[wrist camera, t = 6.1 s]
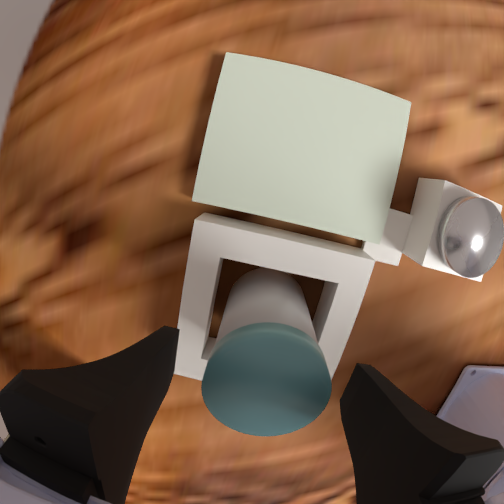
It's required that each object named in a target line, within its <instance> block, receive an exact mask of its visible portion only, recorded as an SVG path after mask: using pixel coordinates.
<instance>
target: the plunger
mask: <svg viewBox="0 0 504 504" xmlns="http://www.w3.org/2000/svg"><path fill="white" fill-rule="evenodd" d="M503 241H504V225H503V220H502V217H501V214H500V212H499V210H498V209H497V207H496V206H495V205H494V204H493V203H492V202H491V201H489V200H487V199H484V198H479V197H474V196H462V197H460V198H457V199H456V200H454V201H453V202H452V203H451V204H450V205H449V206H448V207H447V208H446V210H445V211H444V213H443V215H442V217H441V219H440V222H439V225H438V230H437V247H438V252H439V255H440V257H441V259H442V261H443V262H444V264H445V265H446V266H447V267H448V268H450V269H451V270H453V271H455V272H456V273H458V274H460V275H461V276H463V277H467V278H475V277H479V276H481V275H483V274H484V273H486V272H487V271H488V270H489V269H490V268H491V267H492V266H493V265H494V264H495V262H496V260H497V259H498V257H499V255H500V252H501V249H502V246H503Z"/></svg>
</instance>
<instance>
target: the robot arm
mask: <svg viewBox="0 0 504 504" xmlns="http://www.w3.org/2000/svg"><path fill="white" fill-rule="evenodd" d="M179 332H180V329H176V328H172V327H168V326H163V327H162V328H160V329H158V330H157V331H155V332H154V333H152V334H151V335H149V336H147V337H146V338H144V339H142V340H141V341H139V342H137V343H136V344H134V345H132V346H130V347H128V348H126V349H124V350H122V351H120V352H118V353H116V354H113V355H111V356H108V357H106V358H103V359H100V360H97V361H93V362H89V363H85V364H81V365H77V366H72V367H66V368H58V369H45V370H22V371H21V372H20V373H18V374H17V375H16V376H15V377H14V378H13V379H12V380H11V381H10V382H9V383H8V384H7V385H6V386H5V387H4V388H3V389H2V390H1V391H0V412H1V415H2V418H3V420H4V423H5V425H6V428H7V430H8V433H9V435H10V436H9V438H8V439H7V440H6V441H5V442H4V441H3V440H2V439H1V437H0V504H125V500H126V496H127V493H128V489H129V486H130V482H131V479H132V475H133V472H134V469H135V466H136V463H137V460H138V456H139V453H140V451H141V448H142V445H143V442H144V439H145V436H146V434H147V432H148V429H149V427H150V425H151V423H152V421H153V419H154V417H155V415H156V413H157V411H158V409H159V407H160V405H161V403H162V401H163V399H164V397H165V395H166V393H167V391H168V389H169V386H170V383H171V380H172V377H173V374H174V371H175V362H176V354H177V347H178V339H179ZM340 409H341V418H342V423H343V427H344V431H345V435H346V439H347V443H348V446H349V450H350V454H351V458H352V462H353V467H354V474H355V484H356V498H357V504H504V367H499V366H477V365H468V366H466V367H465V368H464V370H463V371H462V373H461V375H460V377H459V379H458V381H457V382H456V384H455V386H454V388H453V389H452V391H451V393H450V395H449V396H448V398H447V400H446V401H445V403H444V405H443V406H442V408H441V409H440V411H439V413H438V414H437V416H435V415H433V414H432V413H430V412H429V411H427V410H425V409H424V408H423V407H421V406H420V405H418V404H417V403H416V402H414V401H413V400H412V399H411V398H409V397H408V396H407V395H406V394H404V393H403V392H402V391H401V390H400V389H398V388H397V387H396V386H395V385H394V384H393V383H391V382H390V381H389V380H388V379H387V378H386V377H385V376H383V375H382V374H381V373H380V372H379V371H378V370H376V369H375V368H374V367H372V366H371V365H367V364H359V363H357V364H356V366H355V369H354V371H353V373H352V375H351V378H350V380H349V382H348V384H347V386H346V388H345V390H344V393H343V395H342V397H341V399H340Z"/></svg>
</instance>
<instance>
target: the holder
mask: <svg viewBox="0 0 504 504" xmlns="http://www.w3.org/2000/svg"><path fill="white" fill-rule="evenodd" d="M462 196H474V197H479V198H484V199H487V198H485V197H483V196H481V195H478V194H476V193H474V192H472V191H469V190H467V189H465V188H463V187H460V186H458V185H456V184H453V183H451V182H448V181H446V180H439V179H429V178H419V179H418V183H417V188H416V192H415V196H414V200H413V204H412V208H411V212H410V214H407V213H404V212H401V211H397V210H394V209H391V208H389V212H388V216H387V220H386V223H385V227H384V231H383V234H382V238H381V241H380V245H379V244H375V243H371V242H367V241H363V244H362V247H361V248H357V247H353V246H349V245H345V244H341V243H337V242H333V241H329V240H325V239H320V238H316V237H312V236H308V235H303V234H299V233H295V232H291V231H286V230H282V229H278V228H273V227H269V226H264V225H260V224H256V223H251V222H247V221H242V220H238V219H233V218H228V217H224V216H219V215H215V214H210V213H205V212H204V213H203V214H201V215H200V216H199V217H197V218H196V219H195V220H194V226H193V231H192V237H191V243H190V248H189V254H188V260H187V266H186V272H185V279H184V285H183V292H182V298H181V305H180V312H179V319H178V326H177V329H180V332H179V339H178V347H177V354H176V362H175V371H174V374H177V375H181V376H185V377H189V378H193V379H197V380H201V381H202V379H203V376H204V372H205V369H206V365H207V362H208V358H209V355H210V353H211V351H212V349H213V348H214V346H215V343H216V339H217V338H212V337H208V335H209V330H210V325H211V319H212V314H213V309H214V304H215V299H216V293H217V288H218V283H219V278H220V273H221V268H222V263H223V258H225V259H230V260H234V261H239V262H243V263H248V264H252V265H257V266H261V267H266V268H270V269H275V270H279V271H284V272H289V273H293V274H298V275H302V276H307V277H311V278H316V279H321V280H325V283H324V287H323V290H322V293H321V296H320V300H319V303H318V306H317V309H316V312H315V315H314V318H313V321H312V324H313V328H314V331H315V335H316V338H317V341H318V345H319V347H320V348H321V350H322V352H323V354H324V357H325V360H326V363H327V367H328V370H329V374H330V377H331V380H332V377H333V375H334V373H335V370H336V368H337V366H338V363H339V361H340V358H341V356H342V353H343V351H344V348H345V346H346V343H347V341H348V338H349V336H350V333H351V330H352V328H353V325H354V322H355V320H356V317H357V314H358V311H359V309H360V306H361V303H362V300H363V297H364V294H365V291H366V288H367V285H368V282H369V279H370V276H371V273H372V270H373V267H374V264H375V261H379V262H383V263H387V264H392V265H396V266H398V264H399V261H400V258H401V255H402V253H403V254H405V255H406V256H408V257H409V258H411V259H412V260H414V261H415V262H417V263H418V264H420V265H421V266H424V267H428V268H432V269H435V270H439V271H443V272H447V273H450V274H454V275H458V276H461V275H460V274H458V273H456V272H455V271H453V270H451V269H450V268H448V267H447V266H446V265H445V264H444V262H443V261H442V259H441V257H440V255H439V252H438V247H437V230H438V225H439V222H440V219H441V217H442V215H443V213H444V211H445V210H446V208H447V207H448V206H449V205H450V204H451V203H452V202H453V201H454V200H456V199H457V198H460V197H462ZM487 200H489V199H487ZM489 201H491V200H489ZM491 202H492V203H493V204H494V205H495V206H496V207H497V209H498V210H499V212H500V214H501V210H502V205H500V204H498V203H495V202H493V201H491ZM482 276H483V275H481V276H479V277H475V278H469V279H473V280H476V281H480V282H481V279H482ZM462 277H463V276H462ZM465 278H467V277H465Z"/></svg>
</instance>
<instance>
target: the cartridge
mask: <svg viewBox="0 0 504 504" xmlns="http://www.w3.org/2000/svg"><path fill="white" fill-rule="evenodd" d="M201 388H202V396H203V400H204V402H205V404H206V406H207V408H208V409H209V411H210V412H211V413H212V415H213V416H214V417H215V418H216V419H218V420H219V421H220V422H221V423H223V424H224V425H226V426H228V427H229V428H231V429H234V430H236V431H238V432H242V433H245V434H249V435H255V436H277V435H283V434H287V433H291V432H293V431H296V430H298V429H301V428H303V427H305V426H306V425H308V424H309V423H311V422H312V421H313V420H315V419H316V418H317V417H318V416H319V415H320V414H321V413H322V411H323V410H324V409H325V407H326V405H327V404H328V401H329V399H330V395H331V389H332V383H331V377H330V374H329V370H328V367H327V363H326V360H325V357H324V354H323V352H322V350H321V348H320V347H319V345H318V341H317V338H316V335H315V331H314V328H313V324H312V321H311V317H310V314H309V311H308V307H307V304H306V300H305V297H304V294H303V291H302V289H301V287H300V285H299V284H298V282H297V281H296V280H295V279H294V278H293V277H292V276H291V275H289V274H288V273H286V272H284V271H279V270H275V269H270V268H259V269H254V270H252V271H249V272H247V273H245V274H244V275H242V276H241V277H240V278H239V279H238V280H237V281H236V282H235V283H234V285H233V286H232V288H231V290H230V293H229V296H228V300H227V303H226V307H225V311H224V314H223V318H222V321H221V325H220V329H219V332H218V336H217V339H216V343H215V346H214V348H213V349H212V351H211V353H210V355H209V358H208V362H207V365H206V369H205V372H204V376H203V379H202V387H201Z"/></svg>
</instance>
